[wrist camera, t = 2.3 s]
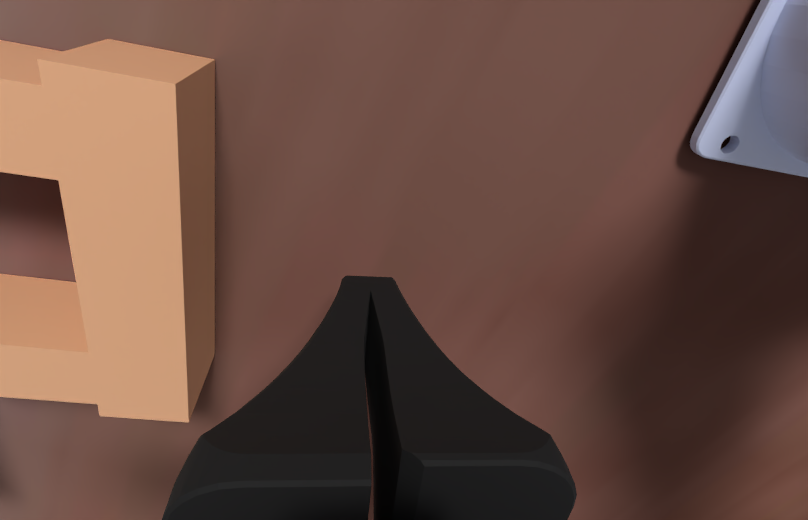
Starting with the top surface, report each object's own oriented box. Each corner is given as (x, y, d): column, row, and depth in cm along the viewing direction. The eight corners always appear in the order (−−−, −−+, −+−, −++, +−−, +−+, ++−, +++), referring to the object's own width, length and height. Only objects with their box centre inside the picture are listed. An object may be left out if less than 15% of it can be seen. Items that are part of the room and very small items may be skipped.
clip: (215, 59, 12) (175, 83, 10) (214, 354, 17) (188, 422, 15) (-130, -7, 11) (-280, 1, 8) (-22, 331, 16) (-96, 402, 13)
